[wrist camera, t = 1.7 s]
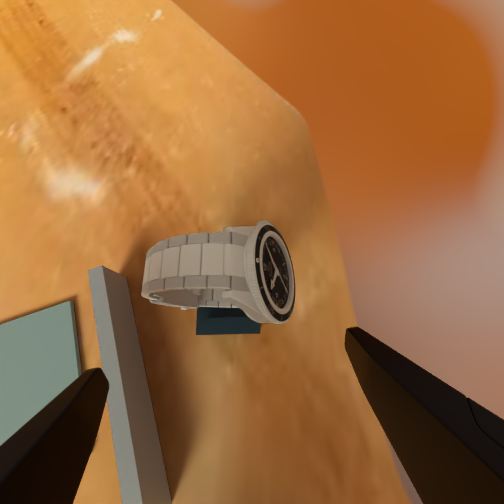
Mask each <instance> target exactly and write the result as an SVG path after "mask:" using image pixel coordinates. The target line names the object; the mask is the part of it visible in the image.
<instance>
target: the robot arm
mask: <svg viewBox="0 0 504 504" xmlns="http://www.w3.org/2000/svg"><path fill="white" fill-rule="evenodd" d="M345 349H346V352H347V354H348V357H349V359H350V361H351V364H352V366H353V369H354V371H355V373H356V376H357V378H358V381H359V383H360V385H361V388H362V390H363V392H364V394H365V396H366V398H367V400H368V402H369V404H370V405H371V407H372V409H373V411H374V413H375V415H376V417H377V419H378V420H379V422H380V424H381V426H382V428H383V430H384V432H385V433H386V435H387V437H388V439H389V441H390V443H391V445H392V446H393V448H394V450H395V452H396V454H397V456H398V458H399V460H400V461H401V463H402V465H403V467H404V469H405V471H406V472H407V474H408V476H409V478H410V480H411V482H412V484H413V486H414V487H415V489H416V491H417V493H418V494H419V497H420V498H421V500H422V502H423V504H504V420H503V419H502V418H500V417H498V416H497V415H495V414H493V413H492V412H490V411H489V410H487V409H485V408H484V407H482V406H481V405H479V404H478V403H476V402H475V401H473V400H471V399H470V398H466V396H465V395H463V394H462V393H460V392H459V391H457V390H456V389H454V388H453V387H451V386H449V385H448V384H446V383H445V382H443V381H442V380H440V379H438V378H437V377H435V376H434V375H432V374H431V373H429V372H428V371H426V370H424V369H423V368H421V367H420V366H418V365H417V364H415V363H413V362H412V361H411V360H409V359H407V358H406V357H404V356H403V355H401V354H400V353H398V352H397V351H395V350H393V349H392V348H390V347H389V346H387V345H386V344H384V343H383V342H381V341H379V340H378V339H376V338H375V337H373V336H372V335H370V334H369V333H367V332H365V331H364V330H362V329H361V328H359V327H350V328H347V329H346V334H345ZM108 392H109V381H108V379H107V378H106V376H105V374H104V372H103V370H102V369H101V368H92V369H88V370H86V371H85V372H83V373H82V374H81V375H80V376H79V377H78V378H77V379H75V380H74V381H73V382H72V383H71V384H70V385H69V386H68V387H66V388H65V389H64V390H63V391H62V392H61V393H60V394H58V395H57V396H56V397H55V398H54V399H53V400H52V401H50V402H49V403H48V404H47V405H46V406H45V407H44V408H43V409H41V410H40V411H39V412H38V413H37V414H36V415H35V416H33V417H32V418H31V419H30V420H29V421H28V422H27V423H25V424H24V425H23V426H22V427H21V428H20V429H19V430H18V431H16V432H15V433H14V434H13V435H12V436H11V437H10V438H8V439H7V440H6V441H5V442H4V443H3V444H2V445H0V504H73V501H74V499H75V496H76V493H77V490H78V488H79V485H80V482H81V479H82V476H83V474H84V471H85V468H86V465H87V463H88V460H89V457H90V454H91V451H92V449H93V446H94V443H95V440H96V437H97V433H98V430H99V426H100V422H101V419H102V415H103V411H104V407H105V403H106V399H107V396H108Z"/></svg>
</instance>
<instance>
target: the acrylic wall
mask: <svg viewBox="0 0 504 504" xmlns="http://www.w3.org/2000/svg"><path fill="white" fill-rule="evenodd" d="M88 274H89V281H90V288H91V294H92V301H93V308H94V315H95V322H96V328H97V335H98V342H99V349H100V355H101V362H102V369H103V372H104V374H105V376H106V378H107V379H108V381H109V392H108V396H107V403H108V410H109V416H110V423H111V430H112V437H113V443H114V450H115V457H116V464H117V470H118V477H119V484H120V491H121V498H122V504H172V501H171V496H170V491H169V486H168V481H167V476H166V471H165V466H164V461H163V456H162V451H161V446H160V441H159V436H158V431H157V427H156V422H155V417H154V412H153V407H152V402H151V397H150V392H149V387H148V382H147V377H146V372H145V367H144V362H143V357H142V352H141V348H140V343H139V338H138V333H137V328H136V323H135V318H134V313H133V308H132V303H131V298H130V293H129V288H128V283H127V278H126V277H125V276H123V275H121V274H119V273H117V272H114V271H112V270H110V269H108V268H106V267H104V266H99V267H96V268H93V269H90V270H88Z"/></svg>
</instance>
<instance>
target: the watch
mask: <svg viewBox="0 0 504 504" xmlns="http://www.w3.org/2000/svg"><path fill="white" fill-rule="evenodd" d="M141 295H142V297H144V298H147V299H149V301H150V302H151V303H154V304H160V305H166V306H173V307H181V309H182V310H187V309H188V308H192V309H195V308H197V325H196V335H221V334H258V333H260V323H274V324H283V323H285V322H287V321H288V320H289V318H290V317H291V314H292V311H293V307H294V302H295V278H294V271H293V265H292V261H291V257H290V254H289V251H288V248H287V246H286V243H285V241H284V239H283V237H282V236H281V234H280V232H279V231H278V230H277V229H276V228H275V227H274V226H273V225H272V224H270V222H269V221H267V220H262V221H258V222H257V223H256V226H234V227H227V228H224V229H223V232H213V233H210V234H209V233H207V232H206V233H194V234H188V235H187V234H185V235H180V236H175V237H172V238H170V239H165V240H162V241H160V242H158V243H156V245H153V246H152V247H151V248H150V249H149V250H148V252H147V255H146V262H145V270H144V277H143V284H142V292H141Z"/></svg>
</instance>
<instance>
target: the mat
mask: <svg viewBox="0 0 504 504" xmlns="http://www.w3.org/2000/svg"><path fill="white" fill-rule="evenodd" d="M81 374H82V370H81V362H80V354H79V345H78V337H77V329H76V320H75V312H74V304H73V301H67V302H64V303H61V304H58V305H55V306H52V307H50V308H47V309H44V310H41V311H38V312H35V313H32V314H29V315H26V316H24V317H21V318H18V319H15V320H12V321H9V322H6V323H3V324H0V445H2V444H3V443H4V442H5V441H6V440H7V439H8V438H10V437H11V436H12V435H13V434H14V433H15V432H16V431H18V430H19V429H20V428H21V427H22V426H23V425H24V424H25V423H27V422H28V421H29V420H30V419H31V418H32V417H33V416H35V415H36V414H37V413H38V412H39V411H40V410H41V409H43V408H44V407H45V406H46V405H47V404H48V403H49V402H50V401H52V400H53V399H54V398H55V397H56V396H57V395H58V394H60V393H61V392H62V391H63V390H64V389H65V388H66V387H68V386H69V385H70V384H71V383H72V382H73V381H74V380H75V379H77V378H78V377H79V376H80V375H81Z"/></svg>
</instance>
